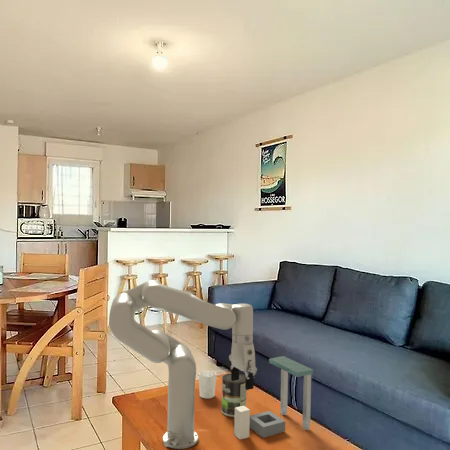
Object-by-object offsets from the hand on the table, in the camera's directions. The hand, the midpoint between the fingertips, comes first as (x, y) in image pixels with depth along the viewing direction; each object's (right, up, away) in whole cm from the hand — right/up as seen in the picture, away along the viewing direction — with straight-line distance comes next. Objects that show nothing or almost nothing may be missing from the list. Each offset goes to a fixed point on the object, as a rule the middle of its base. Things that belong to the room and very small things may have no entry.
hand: (242, 384), depth 158 cm
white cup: (-14, -18, +35) cm, 42 cm away
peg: (0, -19, 0) cm, 19 cm away
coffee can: (-3, -19, +20) cm, 27 cm away
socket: (+9, -19, +5) cm, 22 cm away
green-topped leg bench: (+19, -19, +10) cm, 29 cm away
